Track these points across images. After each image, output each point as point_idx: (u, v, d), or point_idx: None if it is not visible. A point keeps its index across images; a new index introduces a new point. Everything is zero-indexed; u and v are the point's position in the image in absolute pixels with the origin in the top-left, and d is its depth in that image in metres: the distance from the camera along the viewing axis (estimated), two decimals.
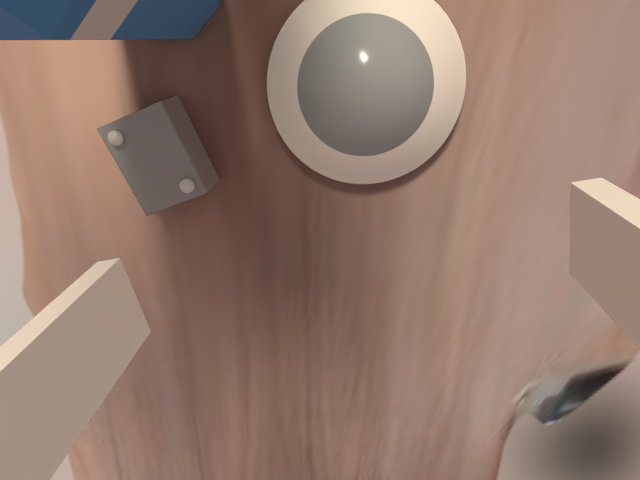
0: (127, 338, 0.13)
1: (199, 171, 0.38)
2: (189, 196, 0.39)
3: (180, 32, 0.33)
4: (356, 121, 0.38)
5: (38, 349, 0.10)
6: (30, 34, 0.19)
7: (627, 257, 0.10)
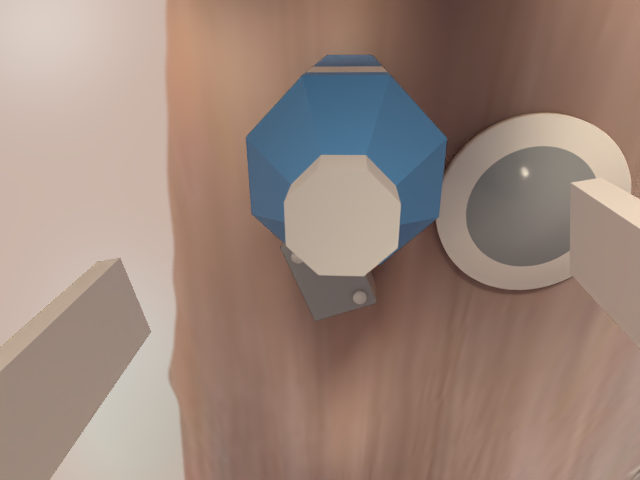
0: (127, 338, 0.13)
1: (370, 283, 0.41)
2: (359, 305, 0.41)
3: None
4: (518, 236, 0.40)
5: (38, 349, 0.10)
6: None
7: (627, 257, 0.10)
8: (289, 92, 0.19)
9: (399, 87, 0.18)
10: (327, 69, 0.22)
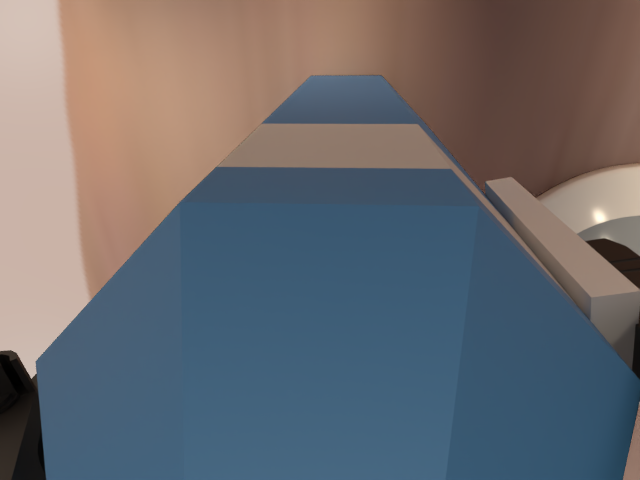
0: None
1: None
2: None
3: None
4: None
5: None
6: None
7: None
8: (142, 253, 0.06)
9: (508, 246, 0.05)
10: (286, 143, 0.09)
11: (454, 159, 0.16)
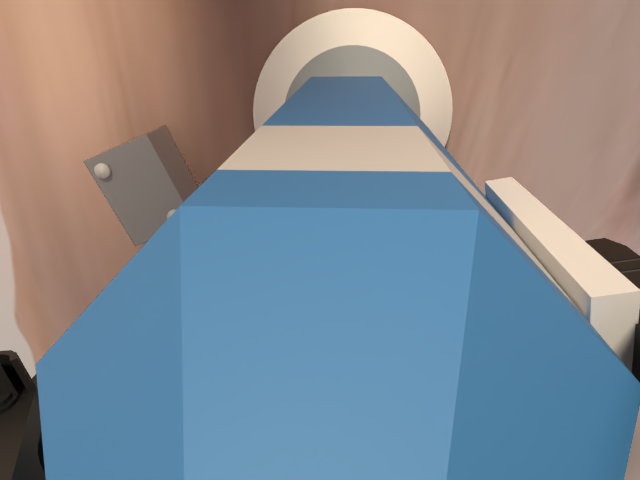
0: None
1: None
2: None
3: None
4: None
5: None
6: None
7: None
8: (142, 257, 0.06)
9: (509, 249, 0.05)
10: (286, 145, 0.09)
11: None
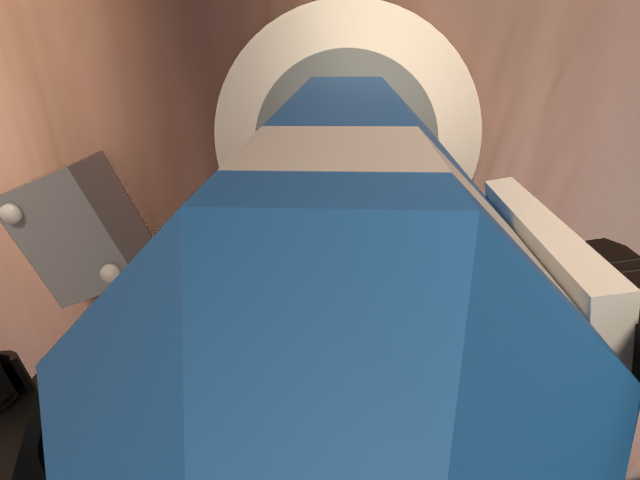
0: None
1: (128, 253, 0.29)
2: None
3: None
4: None
5: None
6: None
7: None
8: (142, 258, 0.06)
9: (509, 250, 0.05)
10: (286, 146, 0.09)
11: None
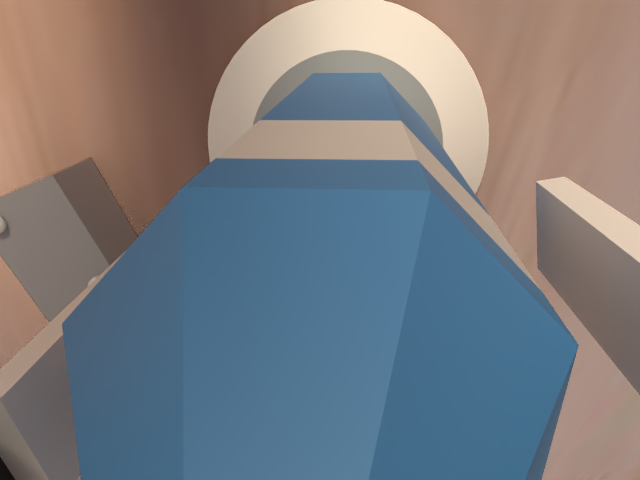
0: None
1: None
2: None
3: None
4: None
5: None
6: None
7: (582, 251, 0.10)
8: (151, 230, 0.07)
9: (456, 224, 0.06)
10: (278, 138, 0.10)
11: (444, 153, 0.17)
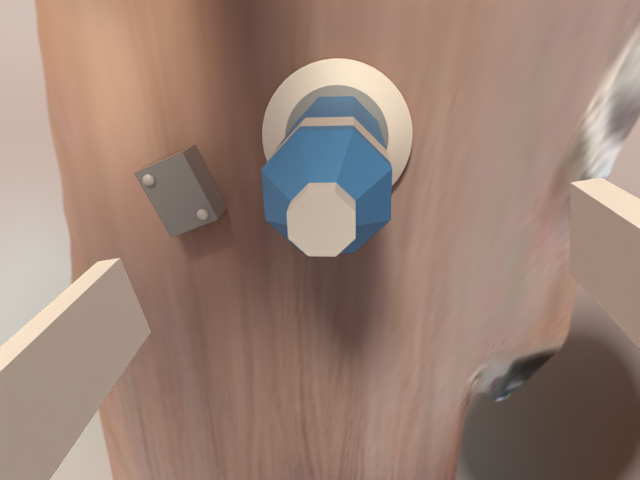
0: (127, 338, 0.13)
1: (212, 203, 0.50)
2: (204, 222, 0.50)
3: None
4: None
5: (38, 349, 0.10)
6: (345, 252, 0.32)
7: (627, 256, 0.10)
8: (289, 141, 0.29)
9: (359, 137, 0.29)
10: (314, 121, 0.32)
11: (377, 132, 0.39)
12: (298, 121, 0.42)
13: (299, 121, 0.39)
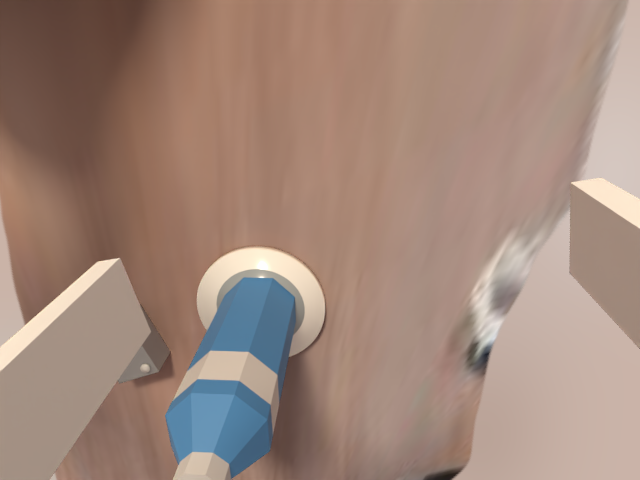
0: (127, 338, 0.13)
1: (154, 357, 0.58)
2: (147, 373, 0.58)
3: None
4: None
5: (38, 349, 0.10)
6: None
7: (627, 257, 0.10)
8: (185, 400, 0.37)
9: (239, 400, 0.37)
10: (213, 366, 0.40)
11: (280, 338, 0.47)
12: (218, 316, 0.50)
13: (215, 327, 0.47)
